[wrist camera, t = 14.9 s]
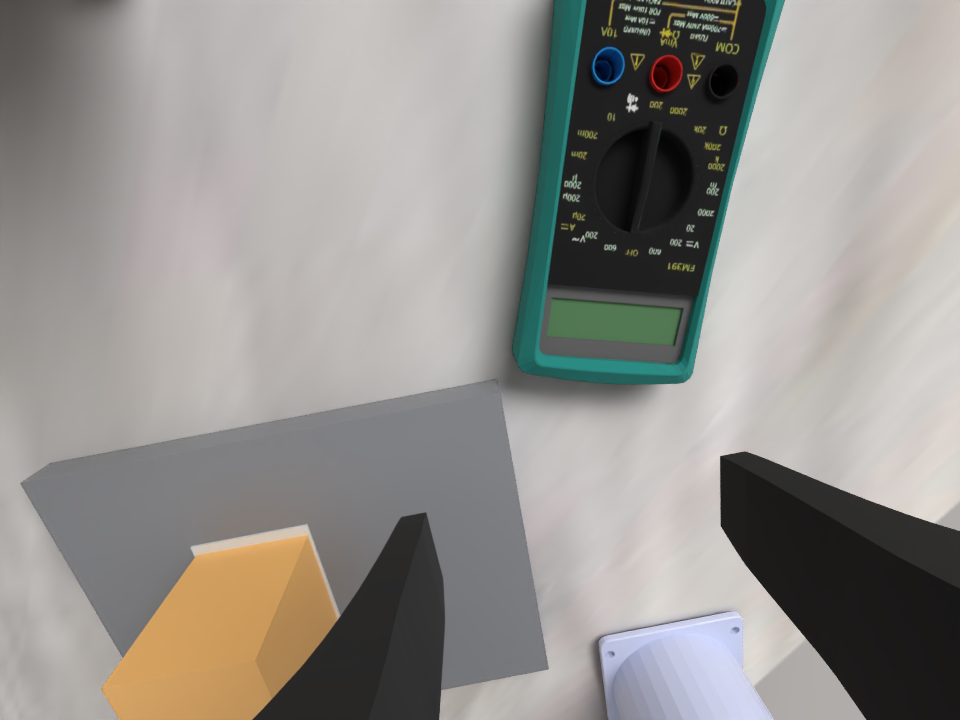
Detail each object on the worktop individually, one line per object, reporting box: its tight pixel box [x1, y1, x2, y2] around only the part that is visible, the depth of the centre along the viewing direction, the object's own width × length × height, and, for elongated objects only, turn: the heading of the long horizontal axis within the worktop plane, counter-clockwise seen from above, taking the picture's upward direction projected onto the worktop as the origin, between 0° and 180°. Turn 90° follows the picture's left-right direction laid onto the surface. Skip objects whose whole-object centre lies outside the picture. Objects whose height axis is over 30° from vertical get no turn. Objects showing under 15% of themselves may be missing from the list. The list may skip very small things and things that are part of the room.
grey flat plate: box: [20, 379, 549, 690], centre depth 22 cm, size 16×20×2 cm
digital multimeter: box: [512, 0, 785, 384], centre depth 17 cm, size 7×15×3 cm, turn 175°
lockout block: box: [101, 535, 338, 720], centre depth 19 cm, size 5×5×6 cm
